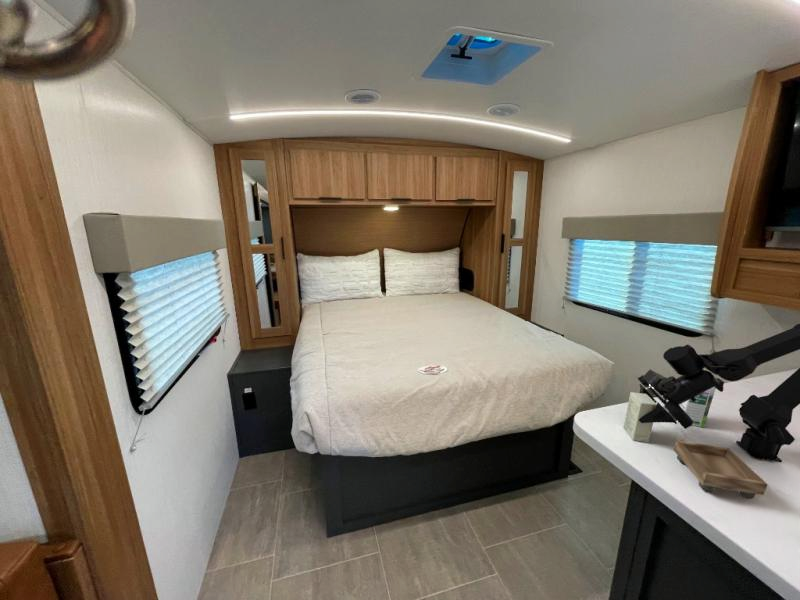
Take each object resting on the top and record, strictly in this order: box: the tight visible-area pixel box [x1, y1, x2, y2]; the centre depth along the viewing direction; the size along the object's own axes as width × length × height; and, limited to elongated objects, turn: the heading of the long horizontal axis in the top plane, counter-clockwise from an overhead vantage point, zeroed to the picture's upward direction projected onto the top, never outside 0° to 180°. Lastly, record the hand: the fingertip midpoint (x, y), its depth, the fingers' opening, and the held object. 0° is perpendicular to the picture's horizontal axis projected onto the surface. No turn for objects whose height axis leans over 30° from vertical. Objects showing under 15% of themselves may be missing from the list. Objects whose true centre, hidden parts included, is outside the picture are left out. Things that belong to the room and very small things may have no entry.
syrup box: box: [680, 387, 717, 428], centre depth 99 cm, size 6×6×14 cm
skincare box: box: [622, 391, 657, 443], centre depth 93 cm, size 6×4×12 cm
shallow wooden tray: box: [673, 440, 769, 500], centre depth 78 cm, size 12×12×5 cm
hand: (634, 414), depth 93 cm, fingers closed on skincare box, 6 cm apart
